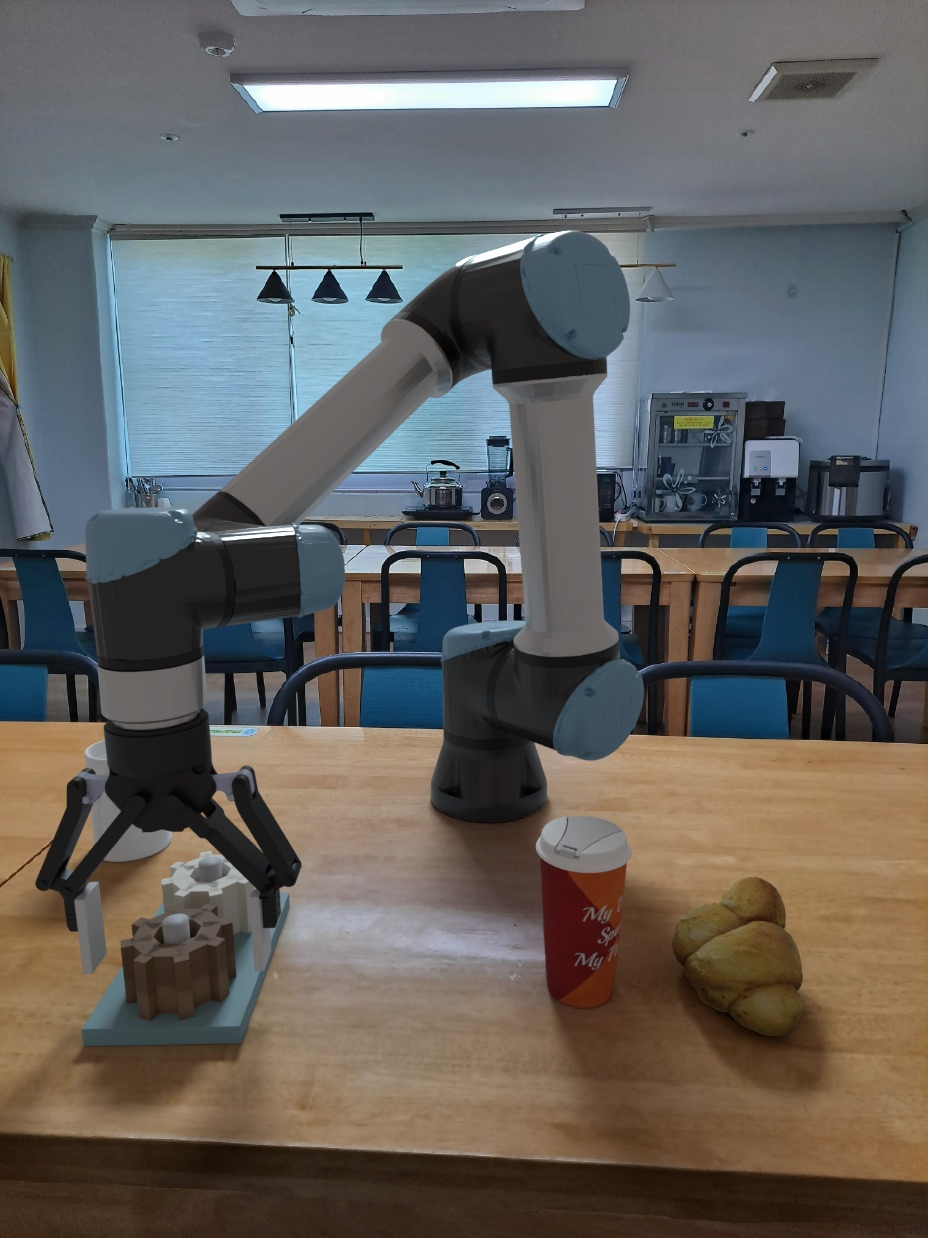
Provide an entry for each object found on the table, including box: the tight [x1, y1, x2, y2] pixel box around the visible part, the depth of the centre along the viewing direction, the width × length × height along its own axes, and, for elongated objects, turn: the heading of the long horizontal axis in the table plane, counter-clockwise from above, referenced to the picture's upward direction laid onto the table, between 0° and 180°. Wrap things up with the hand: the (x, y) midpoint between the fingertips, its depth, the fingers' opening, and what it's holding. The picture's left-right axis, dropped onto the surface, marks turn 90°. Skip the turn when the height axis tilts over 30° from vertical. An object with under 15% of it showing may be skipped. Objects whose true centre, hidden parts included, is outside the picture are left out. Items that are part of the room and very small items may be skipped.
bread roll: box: [671, 876, 804, 1037], centre depth 66 cm, size 13×10×8 cm
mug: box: [83, 739, 173, 863], centre depth 91 cm, size 12×8×12 cm
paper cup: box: [535, 815, 632, 1010], centre depth 67 cm, size 8×8×14 cm
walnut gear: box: [120, 903, 237, 1021], centre depth 66 cm, size 8×8×5 cm
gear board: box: [81, 857, 291, 1047], centre depth 70 cm, size 12×19×8 cm, turn 1°
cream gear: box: [160, 850, 254, 935], centre depth 75 cm, size 8×8×5 cm
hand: (179, 962), depth 66 cm, fingers open, 13 cm apart
